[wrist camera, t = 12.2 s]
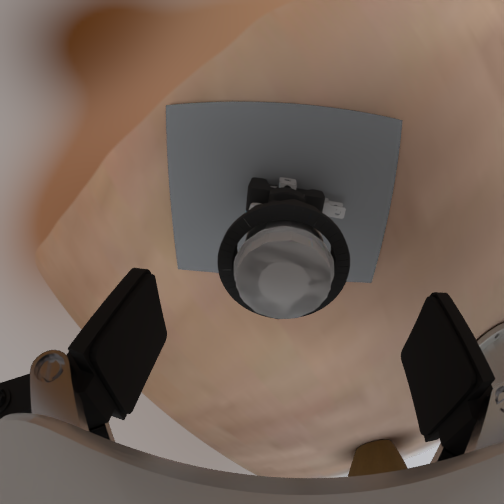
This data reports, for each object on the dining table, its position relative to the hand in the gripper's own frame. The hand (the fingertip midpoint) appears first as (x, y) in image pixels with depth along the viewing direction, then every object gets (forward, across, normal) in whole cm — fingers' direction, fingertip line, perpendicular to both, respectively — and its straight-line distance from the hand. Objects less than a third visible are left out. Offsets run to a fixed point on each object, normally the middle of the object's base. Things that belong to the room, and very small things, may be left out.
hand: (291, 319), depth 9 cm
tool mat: (+12, +1, 0) cm, 12 cm away
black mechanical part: (+12, 0, 0) cm, 12 cm away
